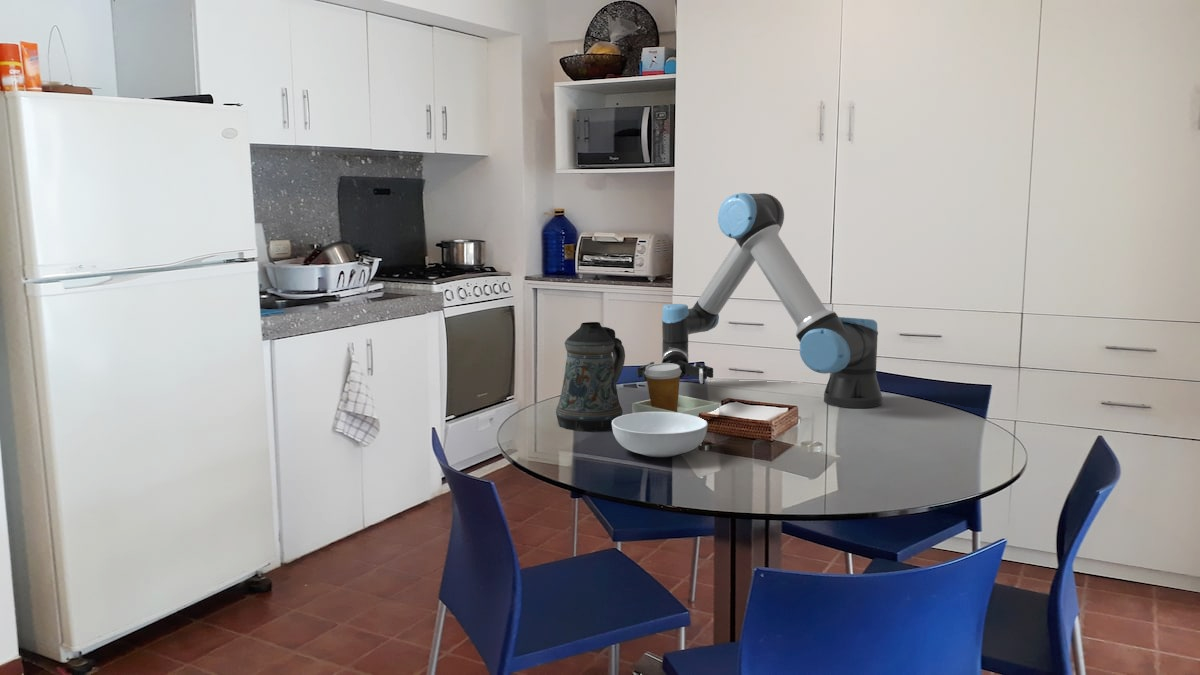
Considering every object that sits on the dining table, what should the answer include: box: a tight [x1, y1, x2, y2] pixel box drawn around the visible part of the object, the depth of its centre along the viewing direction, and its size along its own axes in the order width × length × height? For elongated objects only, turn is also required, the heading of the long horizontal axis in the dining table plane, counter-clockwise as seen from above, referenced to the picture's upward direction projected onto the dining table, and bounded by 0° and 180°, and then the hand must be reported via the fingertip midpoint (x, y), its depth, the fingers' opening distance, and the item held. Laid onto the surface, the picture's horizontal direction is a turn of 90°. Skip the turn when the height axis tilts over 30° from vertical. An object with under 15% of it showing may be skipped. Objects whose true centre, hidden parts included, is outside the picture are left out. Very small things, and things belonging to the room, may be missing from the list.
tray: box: [631, 394, 720, 417], centre depth 227 cm, size 16×16×4 cm
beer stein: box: [555, 321, 626, 432], centre depth 221 cm, size 16×19×25 cm
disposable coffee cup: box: [644, 362, 682, 412], centre depth 227 cm, size 10×10×12 cm
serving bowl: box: [611, 412, 709, 458], centre depth 195 cm, size 21×21×7 cm
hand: (674, 378), depth 230 cm, fingers open, 13 cm apart
